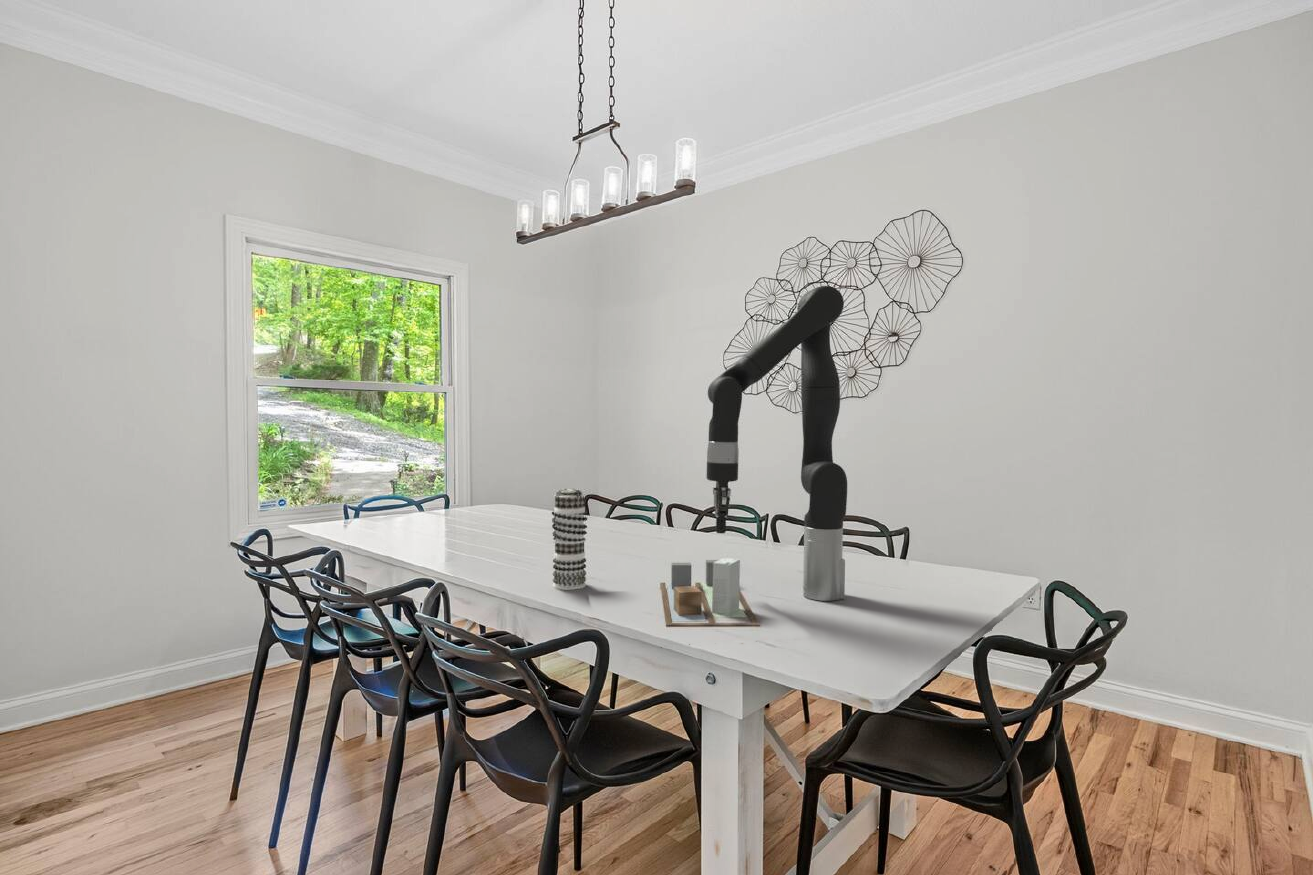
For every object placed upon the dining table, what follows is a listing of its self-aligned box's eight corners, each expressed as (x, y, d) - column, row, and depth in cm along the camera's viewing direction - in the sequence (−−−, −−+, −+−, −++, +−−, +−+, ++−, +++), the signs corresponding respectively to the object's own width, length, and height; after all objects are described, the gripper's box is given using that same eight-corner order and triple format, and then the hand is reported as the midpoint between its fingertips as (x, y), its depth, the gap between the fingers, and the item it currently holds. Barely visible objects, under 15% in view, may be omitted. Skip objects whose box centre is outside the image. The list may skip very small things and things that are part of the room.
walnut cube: (695, 608, 152) (695, 585, 152) (701, 614, 147) (701, 591, 147) (673, 609, 151) (673, 586, 151) (678, 615, 146) (679, 592, 146)
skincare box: (721, 610, 154) (722, 557, 154) (740, 613, 152) (740, 559, 152) (710, 617, 148) (711, 561, 148) (730, 620, 146) (730, 563, 146)
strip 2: (727, 586, 175) (728, 559, 175) (746, 621, 145) (746, 589, 145) (701, 586, 175) (701, 559, 175) (714, 621, 145) (715, 589, 145)
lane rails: (735, 588, 174) (735, 582, 174) (759, 631, 139) (759, 624, 139) (660, 588, 174) (660, 582, 174) (666, 632, 139) (666, 624, 139)
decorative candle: (585, 590, 171) (585, 491, 171) (548, 589, 172) (548, 491, 171) (589, 581, 181) (589, 487, 180) (554, 581, 181) (554, 487, 180)
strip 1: (694, 589, 172) (694, 562, 172) (706, 626, 142) (706, 592, 142) (667, 589, 172) (667, 562, 172) (673, 626, 142) (673, 592, 142)
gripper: (741, 462, 156) (739, 538, 156) (734, 459, 169) (733, 528, 170) (709, 462, 156) (707, 537, 156) (704, 458, 169) (702, 527, 170)
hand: (720, 532), depth 163 cm, fingers closed
